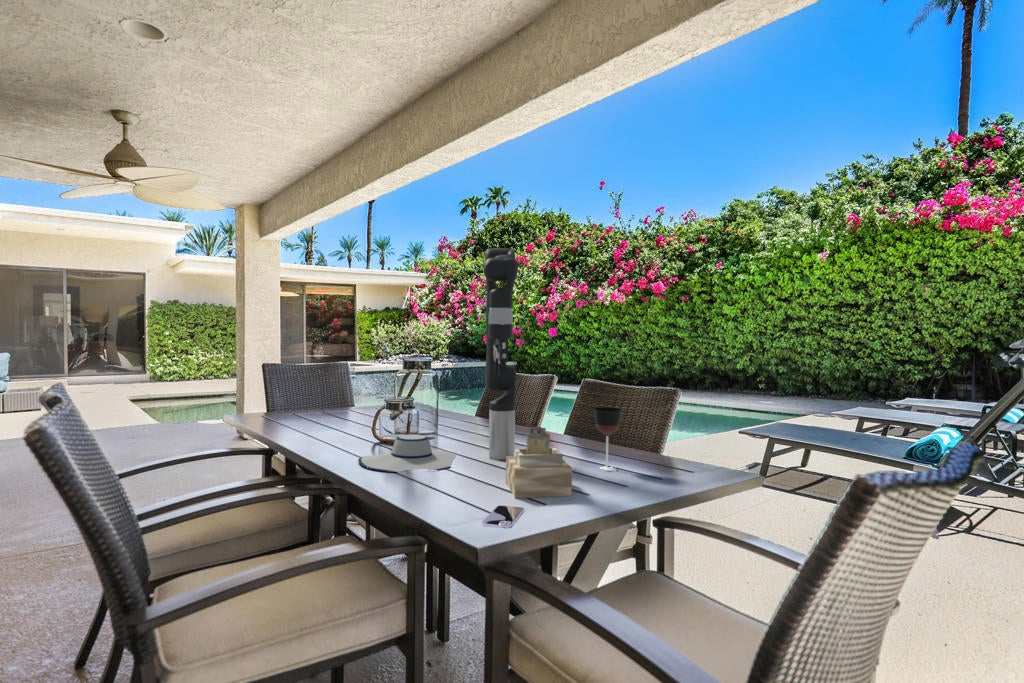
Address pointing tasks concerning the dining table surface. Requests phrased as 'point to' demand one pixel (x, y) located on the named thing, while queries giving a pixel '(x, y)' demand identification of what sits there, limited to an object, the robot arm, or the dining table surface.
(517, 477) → the holder stand
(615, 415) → the wineglass
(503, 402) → the robot arm
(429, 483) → the dining table surface
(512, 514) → the mobile phone
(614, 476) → the dining table surface
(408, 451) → the sun hat
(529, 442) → the lighter
